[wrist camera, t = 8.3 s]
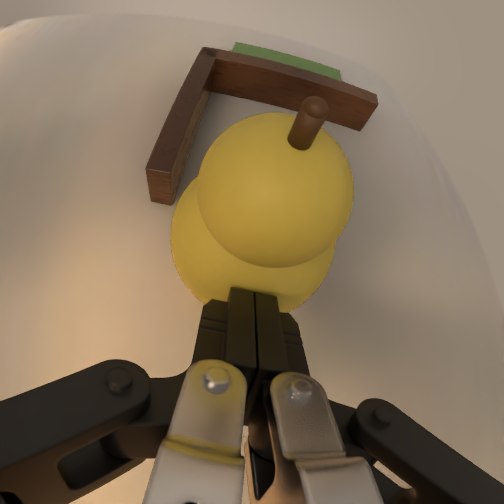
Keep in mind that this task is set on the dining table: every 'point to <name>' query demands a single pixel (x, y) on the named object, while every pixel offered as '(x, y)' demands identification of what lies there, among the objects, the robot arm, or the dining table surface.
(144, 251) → the dining table surface
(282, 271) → the pear
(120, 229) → the dining table surface
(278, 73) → the corner fence
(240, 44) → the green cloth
